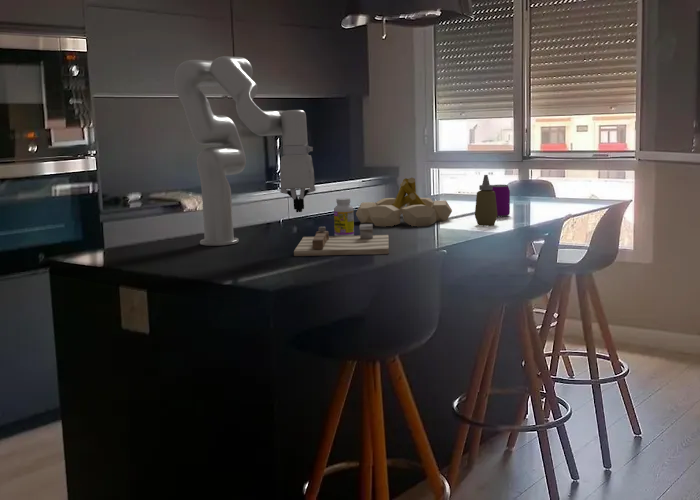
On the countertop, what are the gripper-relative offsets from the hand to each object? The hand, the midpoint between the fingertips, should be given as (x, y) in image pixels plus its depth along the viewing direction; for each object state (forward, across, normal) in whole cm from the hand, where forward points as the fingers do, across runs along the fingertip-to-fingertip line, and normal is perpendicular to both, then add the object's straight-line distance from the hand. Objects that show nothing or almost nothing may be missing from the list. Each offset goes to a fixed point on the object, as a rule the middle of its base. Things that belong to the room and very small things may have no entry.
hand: (299, 211), depth 253 cm
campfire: (+12, -33, -63) cm, 72 cm away
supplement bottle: (+12, -12, -28) cm, 32 cm away
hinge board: (+12, -13, -4) cm, 18 cm away
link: (+10, -6, -2) cm, 12 cm away
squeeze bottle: (+13, -62, -46) cm, 78 cm away
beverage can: (+13, -70, -70) cm, 100 cm away
